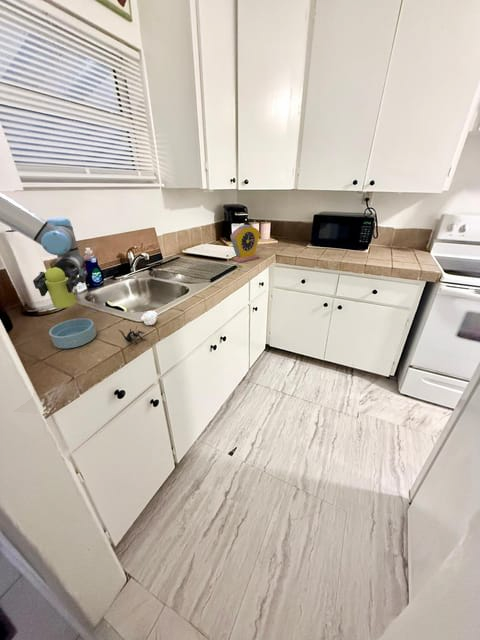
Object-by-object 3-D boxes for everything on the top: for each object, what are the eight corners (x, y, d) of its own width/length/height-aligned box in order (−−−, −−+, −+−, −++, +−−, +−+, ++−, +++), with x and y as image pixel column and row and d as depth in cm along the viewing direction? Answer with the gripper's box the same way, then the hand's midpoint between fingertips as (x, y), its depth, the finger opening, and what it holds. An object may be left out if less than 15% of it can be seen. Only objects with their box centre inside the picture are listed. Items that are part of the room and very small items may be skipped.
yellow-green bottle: (49, 307, 79) (33, 265, 73) (63, 300, 84) (49, 259, 78) (67, 308, 79) (52, 266, 72) (80, 300, 84) (67, 260, 78)
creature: (136, 335, 89) (116, 341, 82) (136, 320, 87) (116, 325, 80) (153, 341, 86) (134, 348, 79) (154, 325, 84) (134, 331, 77)
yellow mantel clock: (237, 263, 163) (237, 227, 153) (228, 260, 169) (227, 225, 159) (262, 257, 176) (263, 224, 166) (252, 255, 182) (253, 222, 172)
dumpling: (162, 321, 96) (160, 313, 93) (151, 329, 92) (149, 321, 90) (148, 314, 98) (146, 306, 95) (138, 322, 95) (135, 313, 92)
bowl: (44, 348, 80) (39, 335, 78) (71, 328, 91) (67, 317, 88) (80, 351, 79) (76, 338, 76) (104, 331, 89) (101, 319, 87)
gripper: (99, 275, 98) (95, 297, 79) (39, 281, 92) (20, 307, 73) (93, 255, 95) (88, 273, 76) (31, 260, 88) (9, 282, 69)
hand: (55, 290), depth 74 cm, fingers closed on yellow-green bottle, 6 cm apart
